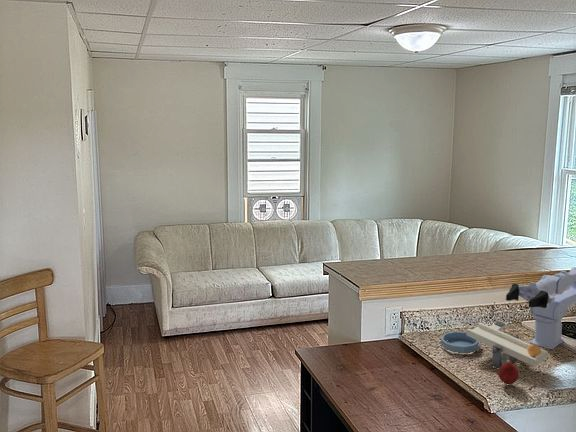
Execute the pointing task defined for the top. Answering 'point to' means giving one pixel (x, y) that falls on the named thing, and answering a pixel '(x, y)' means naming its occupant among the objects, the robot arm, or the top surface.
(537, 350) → the ball
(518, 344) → the lever
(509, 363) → the onion
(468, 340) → the blue bowl
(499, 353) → the stand
